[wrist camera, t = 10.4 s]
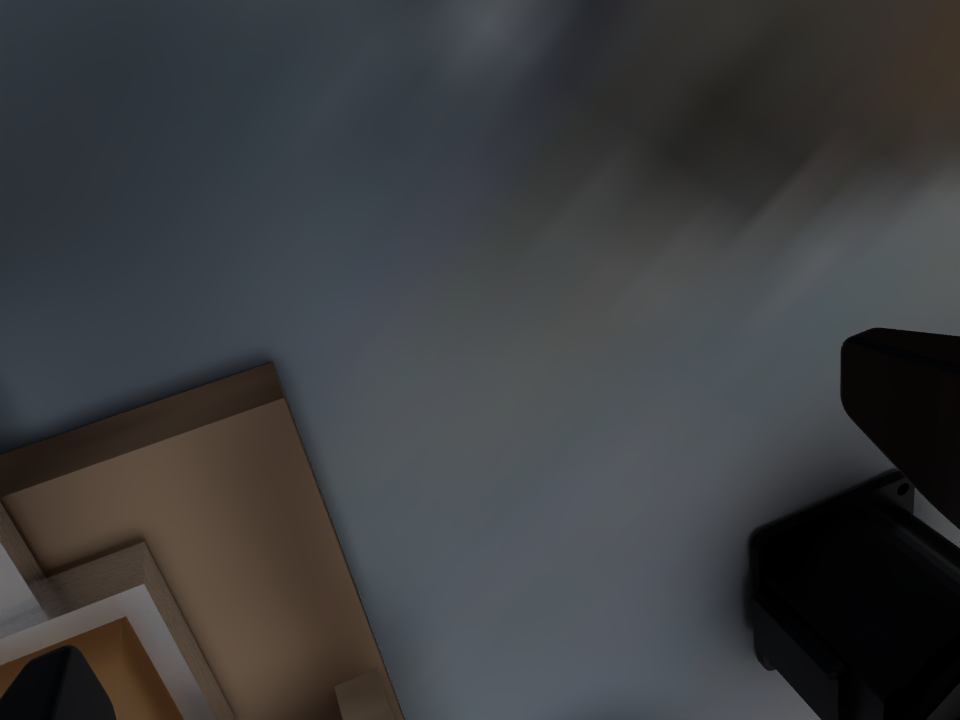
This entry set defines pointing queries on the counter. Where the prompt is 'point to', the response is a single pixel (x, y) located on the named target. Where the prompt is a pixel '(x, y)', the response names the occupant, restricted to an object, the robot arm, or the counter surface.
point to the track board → (211, 536)
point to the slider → (104, 615)
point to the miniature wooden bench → (364, 698)
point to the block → (114, 671)
